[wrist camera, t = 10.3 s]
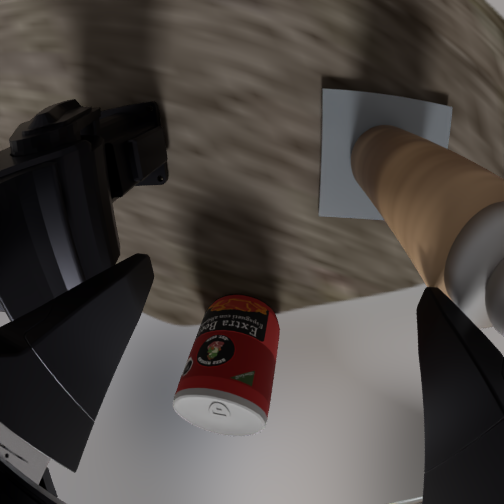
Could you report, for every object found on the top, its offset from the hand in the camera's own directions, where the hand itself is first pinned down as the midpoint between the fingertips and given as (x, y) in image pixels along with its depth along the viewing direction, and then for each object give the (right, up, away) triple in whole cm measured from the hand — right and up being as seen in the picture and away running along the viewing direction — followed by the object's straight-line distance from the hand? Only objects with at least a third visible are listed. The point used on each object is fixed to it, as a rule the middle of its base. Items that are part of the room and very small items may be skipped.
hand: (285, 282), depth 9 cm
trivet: (+8, +7, +10) cm, 15 cm away
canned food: (-2, -6, +21) cm, 22 cm away
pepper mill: (+8, +7, +9) cm, 14 cm away
